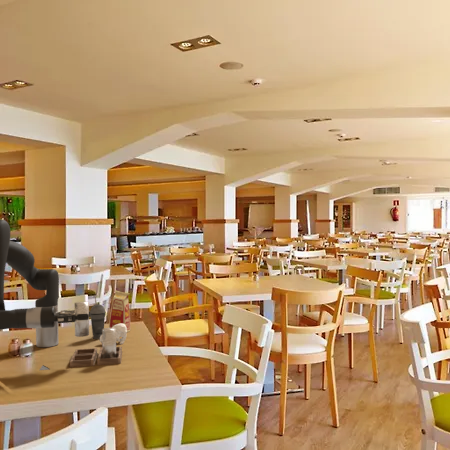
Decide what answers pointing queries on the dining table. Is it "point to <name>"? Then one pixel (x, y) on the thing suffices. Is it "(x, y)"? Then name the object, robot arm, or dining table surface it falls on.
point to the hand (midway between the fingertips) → (89, 315)
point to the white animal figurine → (119, 333)
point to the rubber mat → (44, 368)
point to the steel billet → (82, 325)
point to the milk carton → (120, 310)
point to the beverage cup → (97, 319)
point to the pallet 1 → (83, 357)
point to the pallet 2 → (110, 360)
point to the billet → (109, 342)
